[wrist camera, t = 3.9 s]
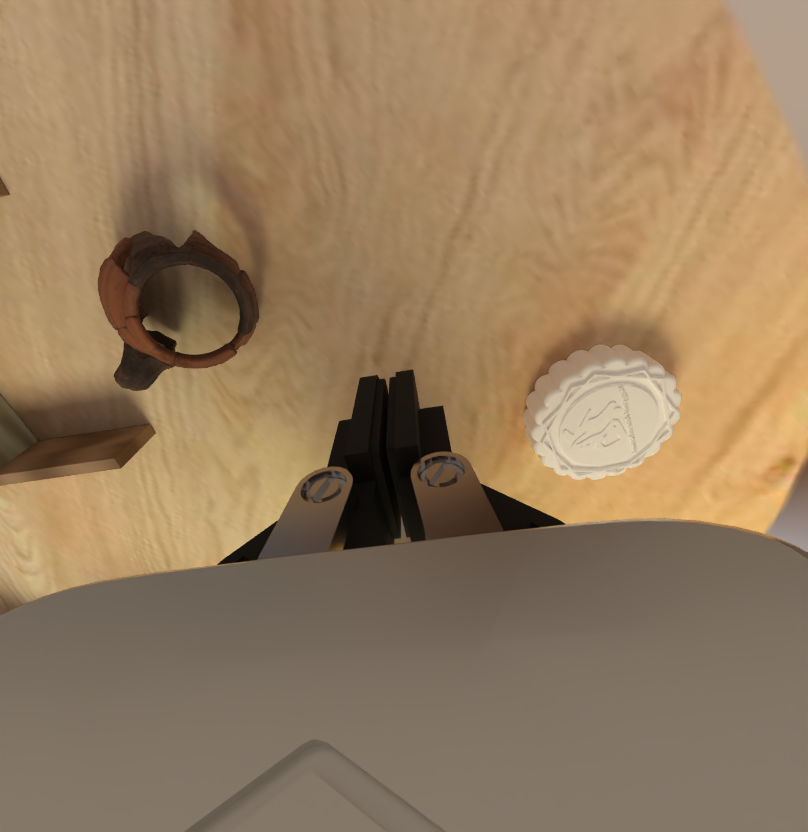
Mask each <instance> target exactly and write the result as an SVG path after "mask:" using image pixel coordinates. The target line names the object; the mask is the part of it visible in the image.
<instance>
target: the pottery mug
mask: <svg viewBox="0 0 808 832" xmlns="http://www.w3.org/2000/svg"><path fill="white" fill-rule="evenodd" d="M130 251H131V269H130V274H128V273H126V272H125V271H124V266H125V262H126V259H127V257H128V254H129V253H130ZM187 264H189V265H194V266H198V267H201V268H203V269H207V270H209V271H211V272H213V273H215V274H216V275H218V276H219V277H220V278H221V279H223V280H224V281H225V282H226V283H227V285H228V286H229V287H230V288H231V290H232V291H233V293H234V295H235V297H236V299H237V301H238V305H239V309H240V320H239V325H238V333H237V334H236V336H235V337H234V338H233V340H232V341H231V342H230V343H228V344H225V345H224V346H222V347H221V348H219V349H217V350H215V351H213V352H210V353H206V354H200V355H188V354H182V353H179V352H175V347H176V345H177V343H176V341H175V340H173V339H171V338H169V337H167V336H165V335H163V334H162V333H160V332H159V331H150V330H146V329H145V327H144V326H143V324H142V322H143V319H144V318H145V317H146V316H147V315H148V313H147V311H145V310H144V309H143V308H142V307H141V306H140V305H139V297H140V294H141V291H142V287H143V285H144V284H145V283H146V281H147V280H148V279H149V278H150V277H151V276H152V275H154V274H155V273H156V272H158V271H160V270H162V269H165V268H168V267H171V266H176V265H187ZM98 291H99V296H100V300H101V303H102V306H103V308H104V311H105V314H106V316H107V318H108V320H109V322H110V324H111V325H112V326H113V328H114V329H115V330H118V334H119V336H120V337H121V338H122V340H123V341H124V350H123V356H122V360H121V364H120V365H119V367H118V369H117V370H116V372H115V374H114V378H115V381H116V382H117V383H118V384H119V385H120V386H121V387H122V388H126V389H130V390H133V391H140V390H146V389H148V388H149V387H150V386H151V385H152V384H153V383H154V381H155V380H156V379H157V377H158V376H159V375H160V373H161V372H163V371H164V370H166V369H169V368H172V367H174V366H177V367H183V368H208V367H212V366H216V365H218V364H222V363H224V362H226V361H227V360H229V359H230V358H232V357H233V356H234V355H236V354H237V351H236V350H238V348H239V347H240V346H243V345H245V344H246V343H247V342H248V340H249V339H250V337H251V336H252V334H253V332H254V330H255V327H256V323H257V322H258V319H259V311H258V303H257V298H256V294H255V291H254V288H253V285H252V283H251V281H250V279H249V277H248V275H247V274H246V272H245V271H243V270H239V266H238V263H237V262H236V261H235V260H234V259H233V258H231V257H230V256H229V255H227V254H226V253H224V252H223V251H221V250H220V249H218V248H217V247H215V246H214V245H213V244H212V243H210V242H209V241H208V240H207V239H206V238H205V237H204V236H203V235H201V234H200V233H199V232H197V231H195V230H194V231H193V234H192V235H191V236H190V237H189V238H188V239H187V241H186V242H185V243H184V245H182V246H181V247H180V248H178V247H176V246H175V245H174V244H173V243H172V242H171V241H170V240H168V239H166V238H164V237H162V236H154V235H152V234H151V233H149V232H147V231H144V232H141V233H139V234H136V235H134V236H132V237H131V238H124V239H122V240H121V241H120V242H119V243H118V244H117V245H116V246H115V248H114V250H113V252H112V253H111V255H110V257H109V258H107V259H105V260H104V262H103V264H102V265H101V268H100V273H99V277H98Z"/></svg>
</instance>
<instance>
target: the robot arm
mask: <svg viewBox="0 0 808 832" xmlns="http://www.w3.org/2000/svg"><path fill="white" fill-rule="evenodd" d="M0 832H808V552H806V551H804V550H802V549H801V548H799V547H797V546H795V545H793V544H790V543H788V542H785V541H783V540H781V539H778V538H776V537H773V536H769V535H766V534H763V533H759V532H756V531H752V530H748V529H743V528H739V527H735V526H728V525H722V524H716V523H710V522H704V521H696V520H681V519H666V518H658V519H625V520H612V521H600V522H588V523H576V524H565V523H563V522H562V521H560V520H558V519H556V518H554V517H552V516H549V515H547V514H545V513H543V512H541V511H539V510H537V509H534V508H532V507H530V506H528V505H526V504H524V503H522V502H519V501H517V500H515V499H513V498H511V497H509V496H507V495H504V494H502V493H500V492H498V491H496V490H494V489H491V488H489V487H487V486H485V485H483V484H481V483H480V482H479V480H478V478H477V476H476V474H475V472H474V470H473V468H472V466H471V464H470V463H469V461H468V460H467V459H466V458H465V457H463V456H462V455H460V454H457V453H453V452H451V446H450V441H449V436H448V430H447V425H446V420H445V414H444V409H443V406H438V407H431V408H424V409H420V407H419V401H418V395H417V389H416V383H415V377H414V372H413V370H407V371H401V372H396V377H392V378H390V382H389V394H388V389H387V384H386V381H385V379H379V377H378V375H375V376H368V377H362V378H360V380H359V385H358V390H357V394H356V399H355V404H354V409H353V414H352V418H351V419H348V420H342V421H339V424H338V428H337V431H336V435H335V439H334V443H333V447H332V451H331V455H330V459H329V463H328V467H325V468H322V469H319V470H316V471H314V472H312V473H310V474H308V475H307V476H306V477H304V478H303V479H302V480H301V481H300V482H299V484H298V485H297V486H296V488H295V490H294V492H293V494H292V496H291V497H290V499H289V501H288V503H287V505H286V507H285V509H284V510H283V512H282V514H281V516H280V518H279V520H278V521H276V522H275V523H274V524H272V525H271V526H269V527H268V528H267V529H265V530H264V531H262V532H261V533H260V534H258V535H257V536H255V537H254V538H253V539H251V540H250V541H248V542H247V543H246V544H244V545H243V546H241V547H240V548H239V549H237V550H236V551H234V552H233V553H232V554H230V555H229V556H227V557H226V558H225V559H223V560H222V561H221V562H220V563H218V564H217V565H213V566H205V567H197V568H189V569H181V570H173V571H165V572H157V573H149V574H142V575H136V576H129V577H123V578H117V579H110V580H104V581H98V582H94V583H90V584H85V585H81V586H77V587H72V588H69V589H66V590H62V591H59V592H56V593H53V594H50V595H46V596H43V597H41V598H38V599H36V600H34V601H31V602H29V603H26V604H24V605H22V606H19V607H17V608H14V609H12V610H10V611H8V612H6V613H4V614H2V615H0Z"/></svg>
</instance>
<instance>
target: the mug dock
mask: <svg viewBox="0 0 808 832" xmlns="http://www.w3.org/2000/svg"><path fill="white" fill-rule="evenodd" d="M6 195H10V194H9V193H8V191H7V189H6V188H5V186H4V184H3V183H2V181H1V179H0V197H2V196H6ZM154 434H155V431H154V430H153V428H152V426H151V425H150V424H147V425H141V426H134V427H128V428H121V429H114V430H108V431H101V432H95V433H88V434H82V435H75V436H68V437H62V438H55V439H49V440H42V441H38V440H37V439H36V438H35V436H34V435H33V434H32V433H31V431H30V430H29V429H28V428H27V426H26V425H25V424H24V423H23V422H22V420H21V419H20V418H19V417H18V415H17V414H16V413H15V412H14V411H13V409H12V408H11V407H10V406H9V404H8V403H7V402H6V401H5V400H4V398H3V397H2V396H1V395H0V486H1V485H8V484H15V483H22V482H29V481H36V480H43V479H50V478H57V477H64V476H71V475H78V474H85V473H91V472H98V471H105V470H112V469H119V468H122V467H123V466H124V465H125V464H126V463H127V462H128V461H129V460H130V459H131V458H132V457H133V456H134V455H135V454H136V453H137V452H138V451H139V450H140V449H141V448H142V447H143V446H144V445H145V444H146V443H147V442H148V440H149V439H150V438H151V437H152V436H153V435H154Z"/></svg>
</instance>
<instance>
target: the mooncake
mask: <svg viewBox="0 0 808 832" xmlns="http://www.w3.org/2000/svg"><path fill="white" fill-rule="evenodd" d="M676 385H677V382H676V379H675V377H674V376H673V375H671V374H670V373H668V372H667V371H665V369H664V367H663V366H662V365H661V364H660V363H658V362H657V361H655V360H654V359H652V358H651V357H649V356H648V355H646V354H645V353H644V352H642V351H637V350H636V351H633V350H631V349H630V348H629V347H627V346H625V345H615V346H613V347H611V348H610V347H608V346H606V345H602V344H600V345H596V346H594V347H592V348H591V349H590V350H589V351H585V350H577V351H575V352H573V353H572V354H570V355H569V357H568V358H567V360H561V361H557V362H556V363H554V364H553V365H552V366H551V367H550V369H549V372H548V374H546V375H543V376H541V377H540V378H538V380H537V381H536V383H535V391H533V392H531V393H530V394H529V395H528V396H527V398H526V406H527V409H526V410H525V411H524V413H523V421H524V423H525V425H526V428H525V434H526V436H527V438H528V440H529V442H530V444H531V446H532V448H533V450H534V452H535V453H536V454H538V456H539V458H540V460H541V462H542V464H543V465H545V466H546V467H552V469H553V471H554V472H555V473H556V474H558V475H569V476H570V477H571V478H573V479H576V480H581V479H584V478H586V477H588V478H590V479H592V480H598V479H602V478H604V477H605V476H606V475H610V476H616V475H619V474H621V473H623V472H624V471H625V470H626V469H627V468H634V467H637V466H639V465H640V464H642V463H643V461H644V460H645V457H648V456H651V455H654V454H655V453H657V452H658V451H659V449H660V447H661V442H663V441H666V440H667V439H668V438H670V436H671V435H672V433H673V426H672V425H673V424H675V423H676V422H677V421H678V420H679V418H680V415H681V412H680V409H679V408H678V406H679V404H680V403H681V400H682V395H681V393H680V391H679V390H677V389H676Z"/></svg>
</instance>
